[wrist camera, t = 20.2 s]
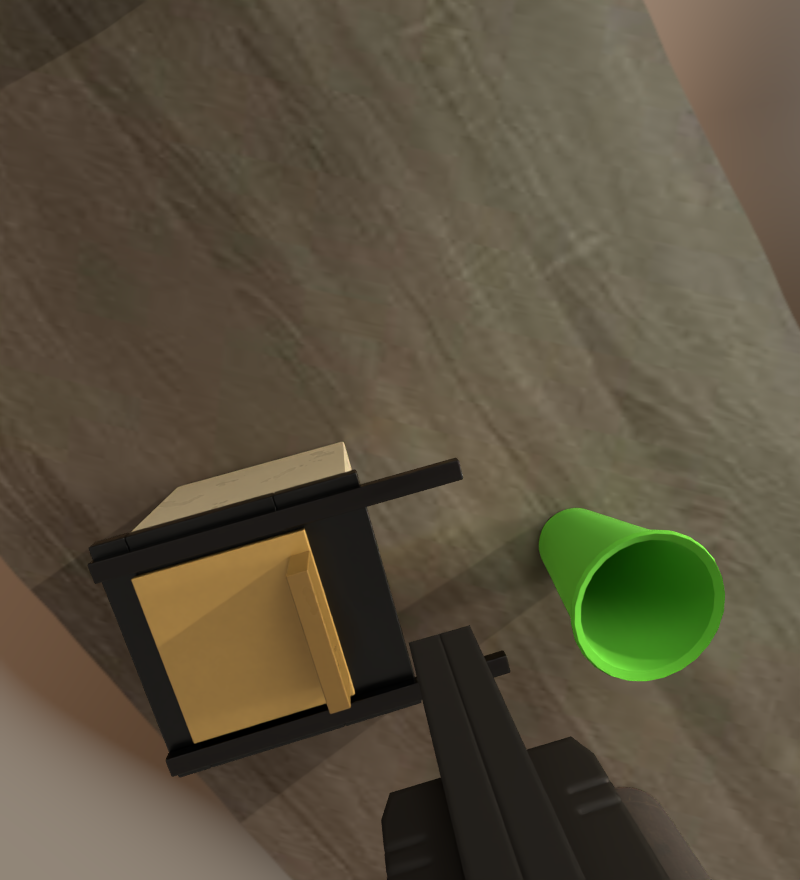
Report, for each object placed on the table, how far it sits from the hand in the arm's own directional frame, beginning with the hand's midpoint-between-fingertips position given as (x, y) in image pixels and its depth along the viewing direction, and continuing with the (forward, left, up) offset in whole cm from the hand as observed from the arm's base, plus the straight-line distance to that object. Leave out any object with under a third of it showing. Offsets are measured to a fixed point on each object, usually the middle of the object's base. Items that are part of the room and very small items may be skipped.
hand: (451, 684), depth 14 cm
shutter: (+4, -8, -14) cm, 17 cm away
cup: (+10, +12, -27) cm, 31 cm away
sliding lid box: (+4, -5, -27) cm, 27 cm away
